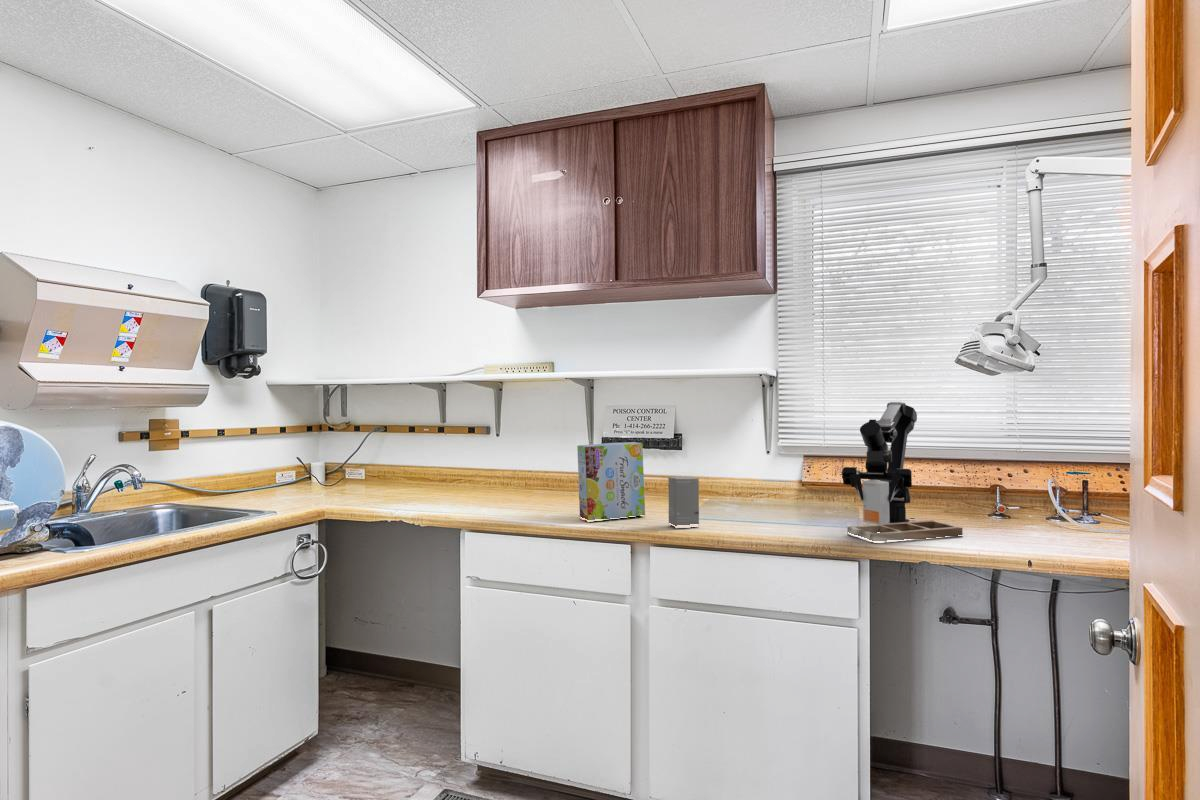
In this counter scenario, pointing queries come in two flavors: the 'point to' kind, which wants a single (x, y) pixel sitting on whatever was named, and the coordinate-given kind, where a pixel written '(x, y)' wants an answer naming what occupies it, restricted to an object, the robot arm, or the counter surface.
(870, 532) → the brown compartment tray
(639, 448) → the snack box
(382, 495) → the counter surface
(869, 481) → the skincare box
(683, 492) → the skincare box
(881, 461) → the robot arm
